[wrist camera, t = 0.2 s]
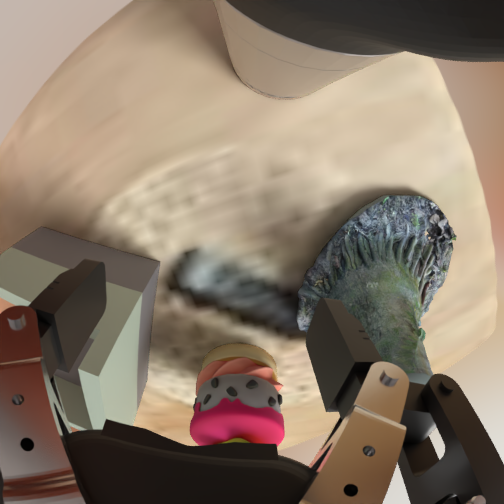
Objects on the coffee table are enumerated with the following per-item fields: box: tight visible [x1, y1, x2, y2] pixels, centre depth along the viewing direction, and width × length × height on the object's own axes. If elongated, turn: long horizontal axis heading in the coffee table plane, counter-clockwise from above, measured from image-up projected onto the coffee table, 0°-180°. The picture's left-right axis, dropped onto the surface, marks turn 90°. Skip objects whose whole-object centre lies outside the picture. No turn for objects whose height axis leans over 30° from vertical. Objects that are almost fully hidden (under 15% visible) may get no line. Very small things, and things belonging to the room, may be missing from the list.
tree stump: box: [296, 195, 456, 385], centre depth 25 cm, size 18×20×18 cm
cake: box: [190, 343, 284, 446], centre depth 29 cm, size 10×11×15 cm
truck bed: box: [0, 227, 160, 430], centre depth 25 cm, size 16×20×16 cm
